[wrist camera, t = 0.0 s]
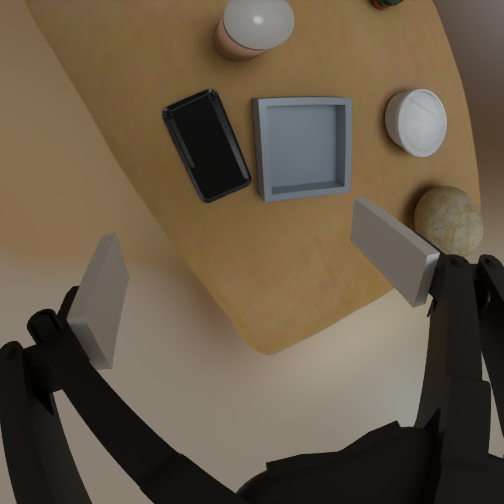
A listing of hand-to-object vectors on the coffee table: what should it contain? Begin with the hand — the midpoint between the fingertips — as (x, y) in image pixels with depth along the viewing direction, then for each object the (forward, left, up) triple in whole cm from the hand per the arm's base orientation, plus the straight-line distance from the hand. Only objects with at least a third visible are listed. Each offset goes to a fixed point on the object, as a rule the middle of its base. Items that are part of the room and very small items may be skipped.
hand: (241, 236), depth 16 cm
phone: (0, 0, -29) cm, 29 cm away
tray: (+1, +13, -28) cm, 31 cm away
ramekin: (-3, +33, -28) cm, 43 cm away
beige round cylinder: (-15, +6, -28) cm, 32 cm away
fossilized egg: (+14, +40, -28) cm, 51 cm away
